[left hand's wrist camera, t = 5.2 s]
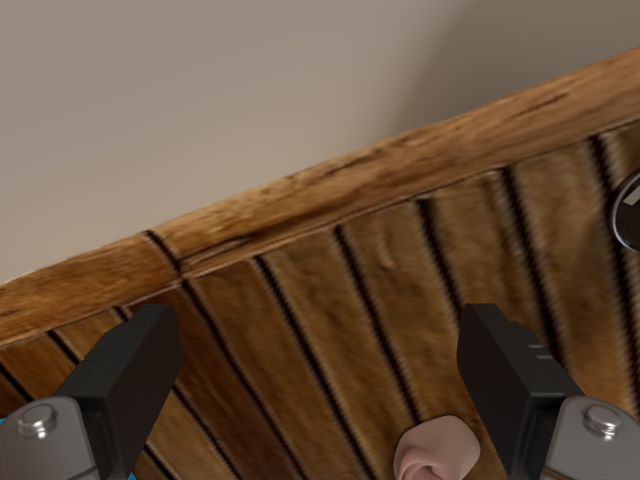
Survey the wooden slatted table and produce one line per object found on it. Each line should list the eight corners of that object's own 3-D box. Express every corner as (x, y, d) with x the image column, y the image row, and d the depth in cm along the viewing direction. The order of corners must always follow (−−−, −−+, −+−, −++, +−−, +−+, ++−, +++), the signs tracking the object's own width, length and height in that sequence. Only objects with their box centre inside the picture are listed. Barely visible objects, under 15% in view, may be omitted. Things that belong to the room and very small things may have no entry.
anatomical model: (445, 429, 46) (517, 474, 48) (436, 403, 49) (503, 446, 52) (369, 496, 50) (439, 534, 52) (366, 467, 53) (431, 504, 56)
